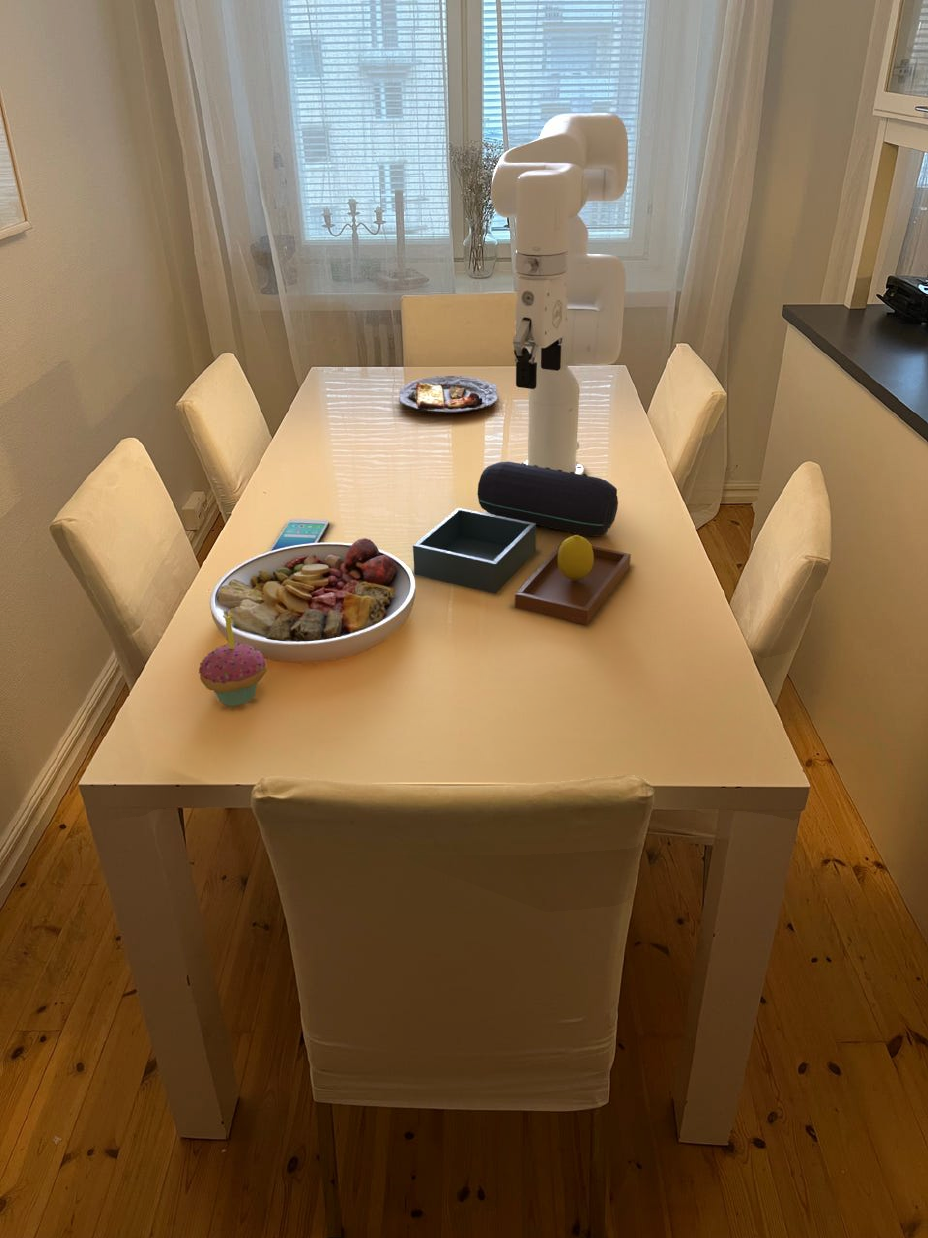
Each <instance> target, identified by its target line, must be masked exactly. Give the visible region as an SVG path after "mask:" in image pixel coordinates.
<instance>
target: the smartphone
mask: <svg viewBox="0 0 928 1238" xmlns="http://www.w3.org/2000/svg"><path fill="white" fill-rule="evenodd" d="M329 527H330V521H329V520H328V519H312V518H311V519H310V518H291V519H288V521H287V523H286V524H285V526H284V527H283V529H282V531H281V532H280V534H279V535H278V537H277V538H276V539H275V541H274V542H273V544H272V546H271V547H270V549H269V550H268V552H270V551H273V550H277V549H280V548H285V547H290V546H295V545H302V544H310V543H321V541H322V539H323V538H324V536H325V534H326V532H327V530H328V529H329Z"/></svg>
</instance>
